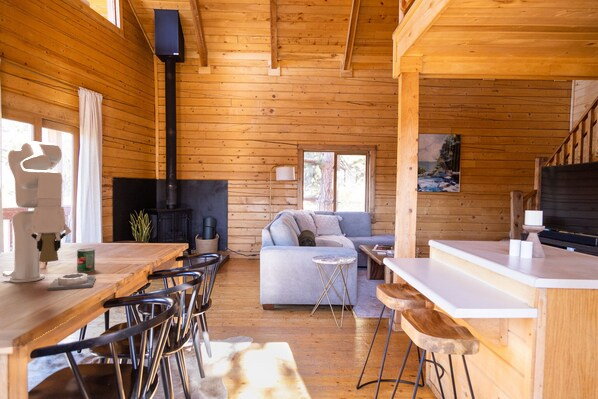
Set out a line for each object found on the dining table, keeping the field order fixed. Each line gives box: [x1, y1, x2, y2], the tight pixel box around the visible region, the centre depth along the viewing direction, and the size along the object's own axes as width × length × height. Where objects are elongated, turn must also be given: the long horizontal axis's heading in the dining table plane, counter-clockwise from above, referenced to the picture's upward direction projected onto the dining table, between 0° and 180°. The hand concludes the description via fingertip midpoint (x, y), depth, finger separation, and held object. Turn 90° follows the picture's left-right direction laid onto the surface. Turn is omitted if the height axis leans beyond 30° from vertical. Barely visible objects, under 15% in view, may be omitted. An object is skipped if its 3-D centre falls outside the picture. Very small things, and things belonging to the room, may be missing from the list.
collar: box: [46, 272, 96, 291], centre depth 158 cm, size 16×16×4 cm
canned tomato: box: [76, 248, 96, 273], centre depth 184 cm, size 8×8×11 cm
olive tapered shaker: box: [39, 233, 59, 263], centre depth 136 cm, size 6×6×11 cm
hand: (48, 250), depth 136 cm, fingers closed on olive tapered shaker, 4 cm apart
